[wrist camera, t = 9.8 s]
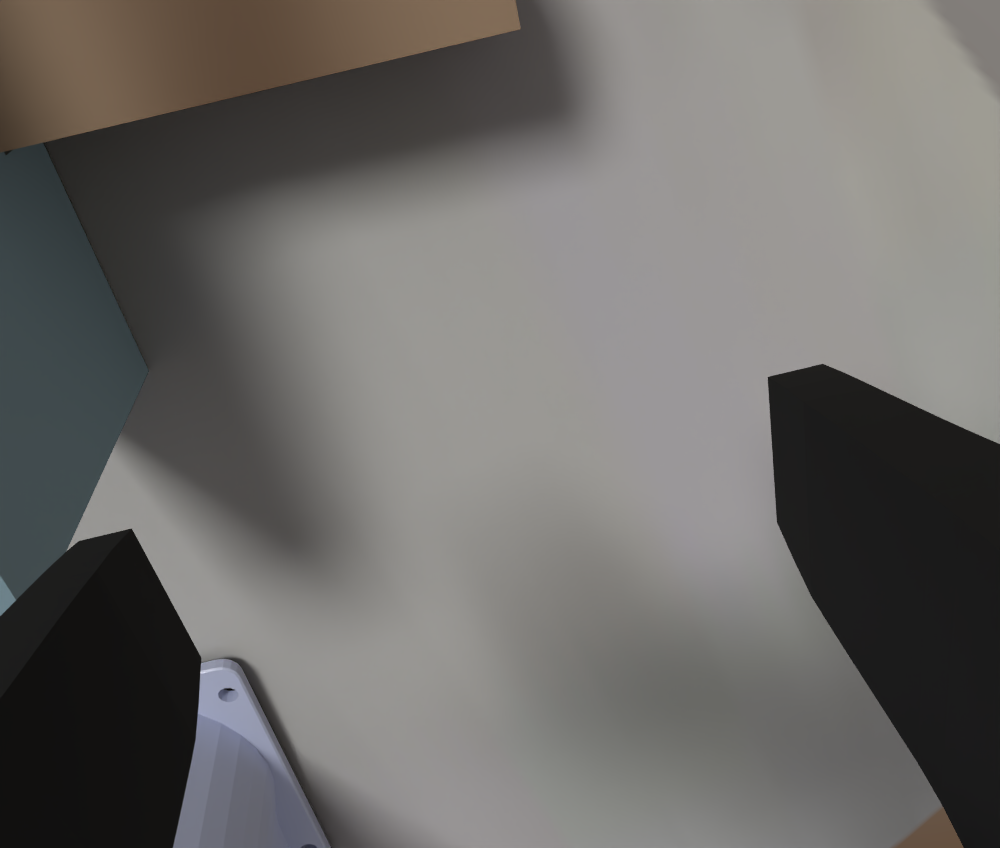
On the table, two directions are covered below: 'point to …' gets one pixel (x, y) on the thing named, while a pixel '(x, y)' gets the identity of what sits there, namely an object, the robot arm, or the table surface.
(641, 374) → the table surface
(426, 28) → the walnut slotted plate
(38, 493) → the teal slotted plate
